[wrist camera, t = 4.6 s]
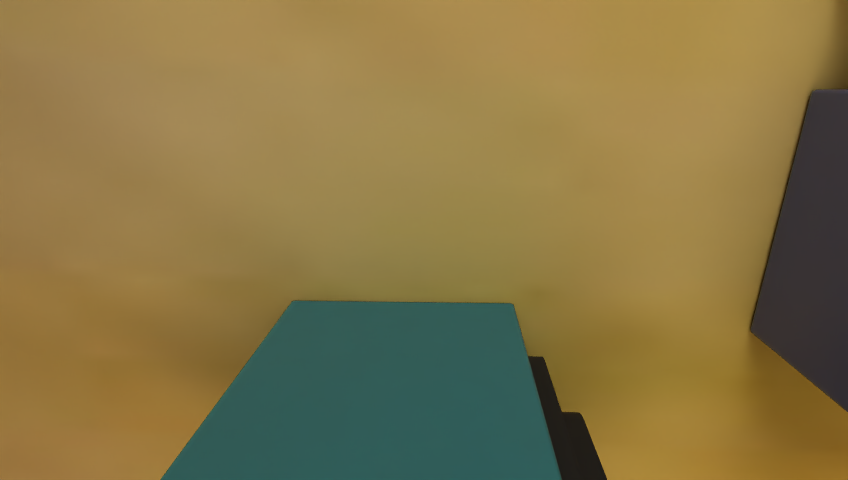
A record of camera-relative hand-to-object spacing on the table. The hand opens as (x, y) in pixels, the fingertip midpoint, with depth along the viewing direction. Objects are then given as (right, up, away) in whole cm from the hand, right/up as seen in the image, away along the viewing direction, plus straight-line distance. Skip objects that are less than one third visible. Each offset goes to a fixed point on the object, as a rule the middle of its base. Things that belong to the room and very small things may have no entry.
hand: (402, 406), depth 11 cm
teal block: (0, 0, 0) cm, 0 cm away
